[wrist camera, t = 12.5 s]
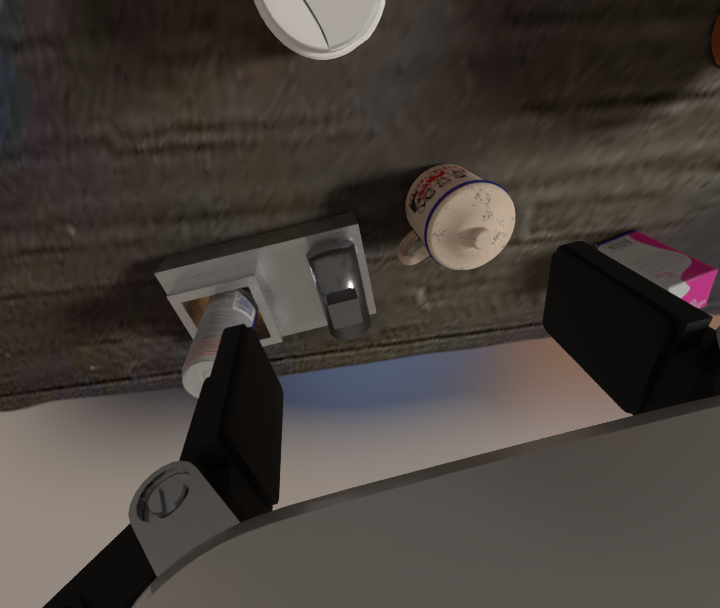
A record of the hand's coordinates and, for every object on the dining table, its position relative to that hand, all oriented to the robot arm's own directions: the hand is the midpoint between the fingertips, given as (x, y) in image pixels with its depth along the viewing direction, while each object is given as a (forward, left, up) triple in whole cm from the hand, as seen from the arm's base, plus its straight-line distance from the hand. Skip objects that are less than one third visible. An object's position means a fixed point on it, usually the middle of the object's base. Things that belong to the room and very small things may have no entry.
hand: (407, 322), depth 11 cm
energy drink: (+13, -15, -26) cm, 33 cm away
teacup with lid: (+9, +10, -31) cm, 33 cm away
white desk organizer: (+13, -10, -30) cm, 34 cm away
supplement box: (+22, +36, -31) cm, 52 cm away
